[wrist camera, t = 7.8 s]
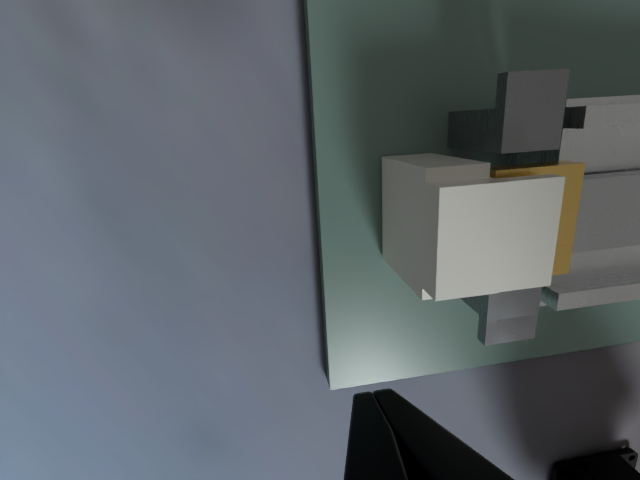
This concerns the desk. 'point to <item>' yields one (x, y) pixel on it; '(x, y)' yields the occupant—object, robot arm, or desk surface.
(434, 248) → the white block
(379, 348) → the board
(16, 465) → the desk surface
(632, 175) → the gold-ended metal bar
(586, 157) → the grey rail mechanism
